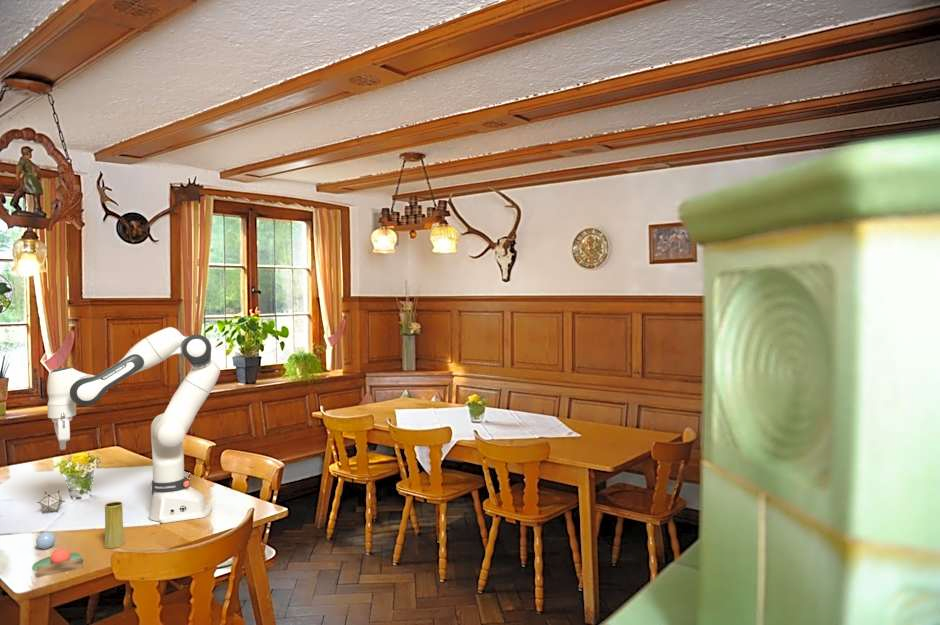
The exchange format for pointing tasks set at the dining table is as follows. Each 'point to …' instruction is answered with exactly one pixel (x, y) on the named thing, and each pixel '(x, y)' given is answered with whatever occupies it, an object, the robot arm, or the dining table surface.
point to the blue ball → (45, 540)
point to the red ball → (60, 556)
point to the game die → (51, 501)
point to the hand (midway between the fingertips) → (62, 449)
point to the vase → (113, 525)
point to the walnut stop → (59, 567)
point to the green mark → (47, 561)
